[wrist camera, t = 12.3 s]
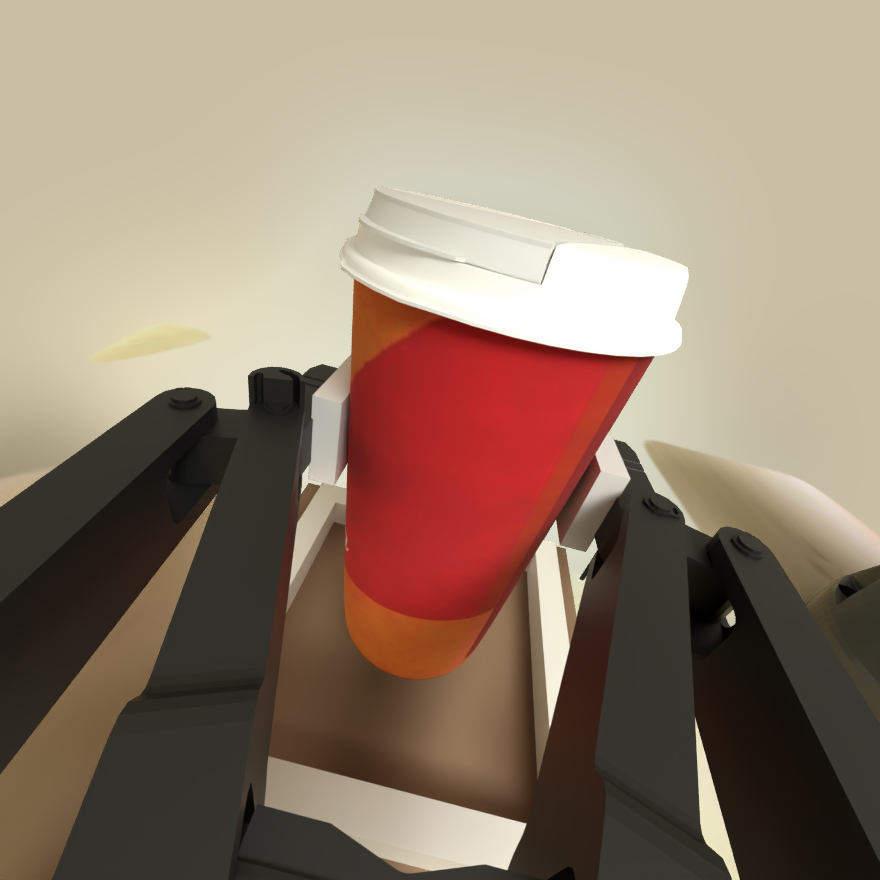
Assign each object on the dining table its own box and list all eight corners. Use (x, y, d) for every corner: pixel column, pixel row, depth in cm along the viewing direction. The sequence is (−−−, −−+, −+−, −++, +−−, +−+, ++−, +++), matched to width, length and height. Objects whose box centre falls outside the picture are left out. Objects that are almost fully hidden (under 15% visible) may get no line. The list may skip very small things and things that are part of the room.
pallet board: (553, 569, 25) (575, 531, 23) (605, 999, 12) (665, 992, 10) (308, 506, 25) (309, 463, 24) (85, 862, 12) (47, 829, 10)
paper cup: (434, 516, 21) (519, 211, 13) (545, 642, 16) (773, 285, 9) (280, 576, 16) (276, 158, 9) (375, 776, 12) (546, 256, 4)
